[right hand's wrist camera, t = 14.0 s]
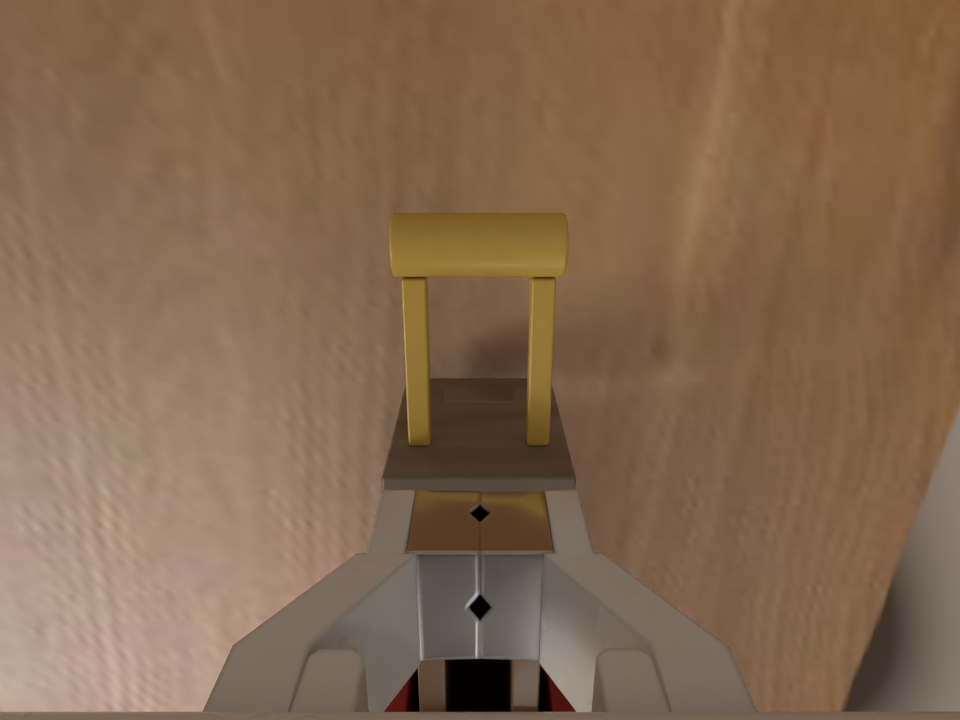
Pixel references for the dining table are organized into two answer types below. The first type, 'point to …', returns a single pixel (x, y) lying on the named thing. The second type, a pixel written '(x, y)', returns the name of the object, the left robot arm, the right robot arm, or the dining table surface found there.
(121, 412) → the dining table surface
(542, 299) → the drawer
